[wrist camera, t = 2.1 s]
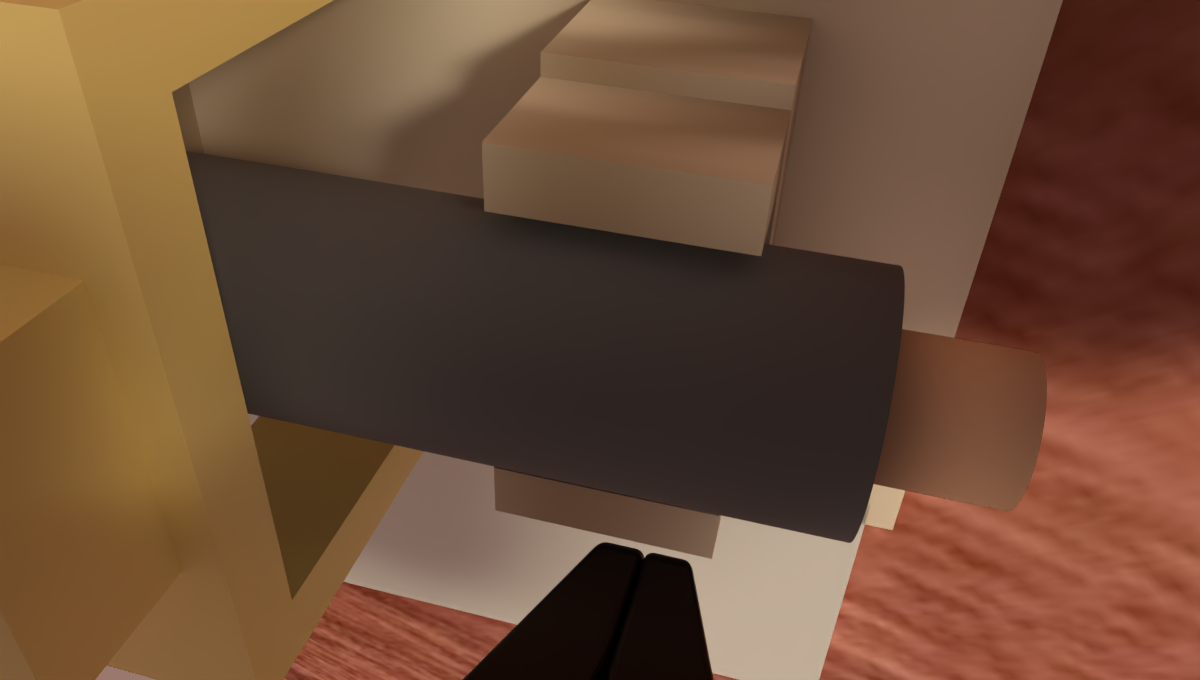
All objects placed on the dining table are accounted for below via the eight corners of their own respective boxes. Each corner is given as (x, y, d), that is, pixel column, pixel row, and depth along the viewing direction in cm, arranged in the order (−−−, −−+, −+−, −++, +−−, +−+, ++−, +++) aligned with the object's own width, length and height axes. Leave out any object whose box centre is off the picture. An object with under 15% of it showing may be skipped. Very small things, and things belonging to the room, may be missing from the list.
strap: (427, -137, 12) (-188, 107, 5) (460, 391, 18) (170, 862, 11) (265, -151, 13) (-503, 55, 6) (344, 368, 18) (-9, 805, 11)
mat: (871, 482, 18) (870, 504, 17) (815, 674, 21) (813, 697, 21) (47, 315, 21) (27, 330, 20) (118, 505, 24) (102, 522, 24)
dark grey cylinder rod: (1046, 238, 11) (1091, 409, 8) (971, 445, 13) (988, 637, 10) (-280, 37, 14) (-534, 114, 12) (-186, 222, 16) (-387, 323, 14)
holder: (1126, -232, 11) (1265, -175, 7) (892, 507, 18) (890, 757, 14) (-367, -325, 15) (-856, -326, 11) (-75, 306, 22) (-302, 453, 18)
